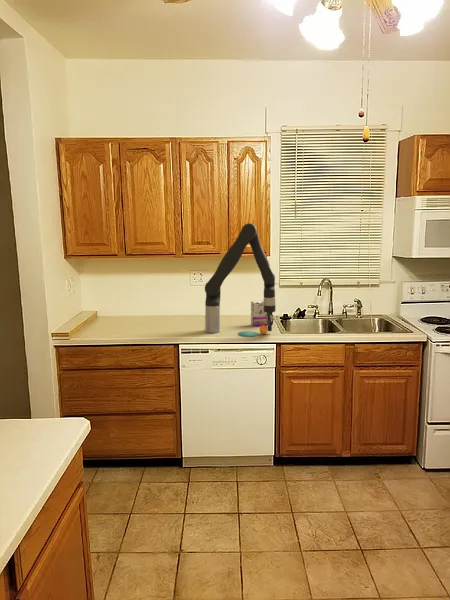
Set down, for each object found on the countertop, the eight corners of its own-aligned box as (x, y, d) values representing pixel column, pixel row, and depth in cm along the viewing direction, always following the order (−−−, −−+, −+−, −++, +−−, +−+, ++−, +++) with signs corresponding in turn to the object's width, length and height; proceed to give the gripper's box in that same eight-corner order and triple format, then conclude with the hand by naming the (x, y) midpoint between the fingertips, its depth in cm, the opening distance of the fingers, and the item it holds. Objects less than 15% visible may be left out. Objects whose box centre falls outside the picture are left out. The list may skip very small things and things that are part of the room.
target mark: (239, 337, 276) (239, 336, 275) (236, 331, 288) (236, 331, 288) (260, 336, 277) (260, 336, 277) (256, 331, 290) (256, 330, 290)
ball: (268, 335, 281) (259, 334, 280) (266, 332, 286) (258, 332, 286) (269, 327, 280) (261, 326, 279) (267, 324, 285) (259, 323, 284)
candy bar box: (265, 323, 309) (266, 300, 306) (268, 325, 304) (268, 302, 301) (250, 324, 306) (250, 301, 303) (252, 326, 301) (253, 302, 298)
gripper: (261, 302, 286) (261, 328, 290) (265, 306, 273) (266, 333, 277) (273, 301, 287) (273, 328, 290) (277, 305, 274) (277, 333, 278)
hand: (269, 330), depth 284 cm, fingers closed
